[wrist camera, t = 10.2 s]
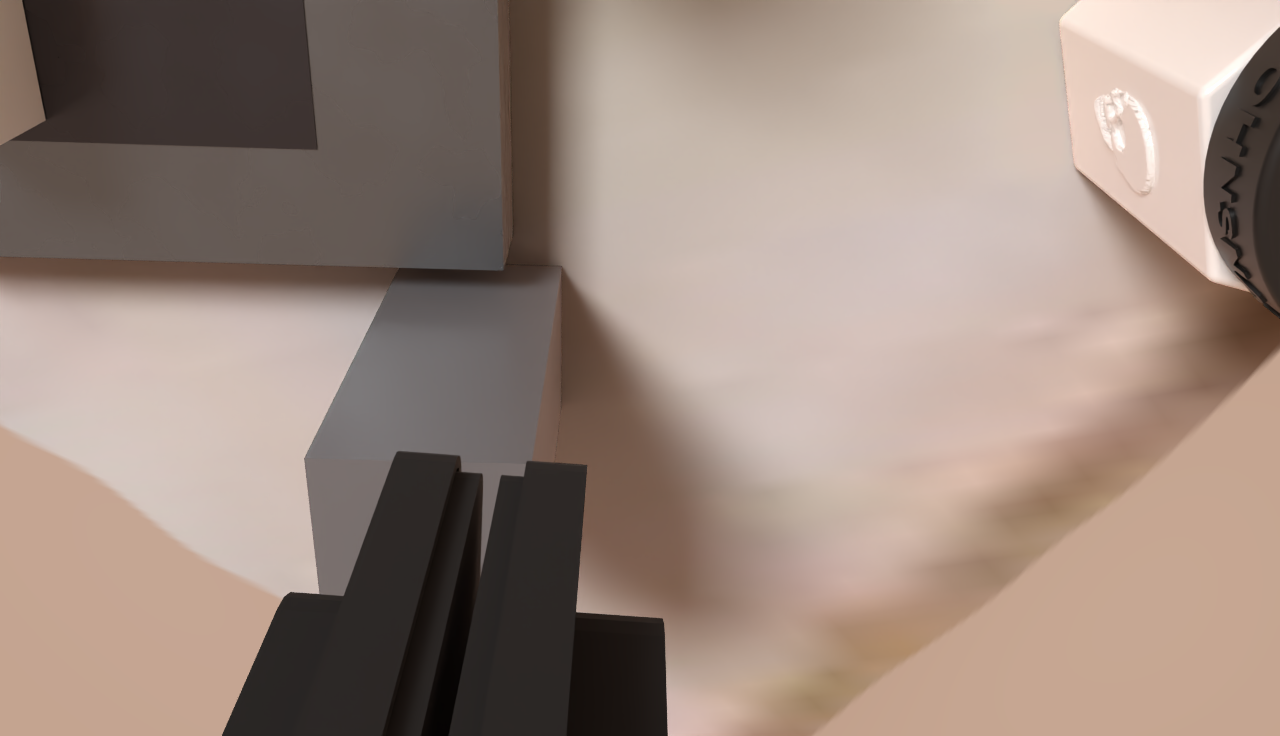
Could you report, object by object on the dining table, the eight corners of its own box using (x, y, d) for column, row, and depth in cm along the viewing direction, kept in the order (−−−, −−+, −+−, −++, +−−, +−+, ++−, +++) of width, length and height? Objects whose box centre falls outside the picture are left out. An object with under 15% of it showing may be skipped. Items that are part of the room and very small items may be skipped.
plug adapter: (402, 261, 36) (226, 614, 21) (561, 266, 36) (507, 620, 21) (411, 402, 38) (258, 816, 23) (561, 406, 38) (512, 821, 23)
